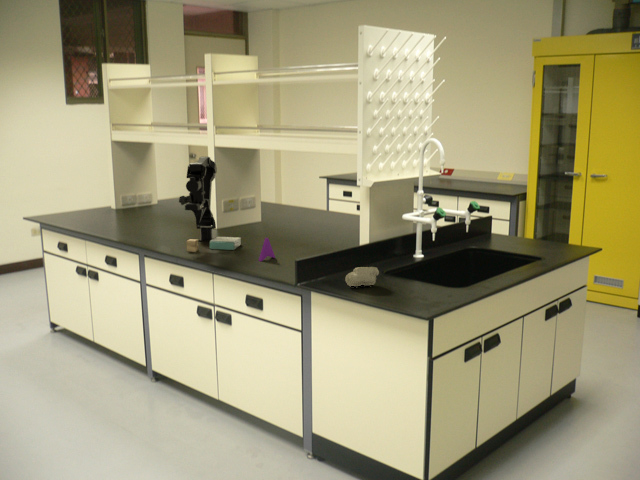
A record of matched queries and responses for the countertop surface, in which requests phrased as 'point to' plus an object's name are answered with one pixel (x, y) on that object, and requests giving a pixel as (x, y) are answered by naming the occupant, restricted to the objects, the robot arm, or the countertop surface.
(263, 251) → the arrowhead
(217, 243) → the tray
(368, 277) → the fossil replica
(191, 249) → the beech block
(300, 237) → the countertop surface
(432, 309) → the countertop surface
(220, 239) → the block
